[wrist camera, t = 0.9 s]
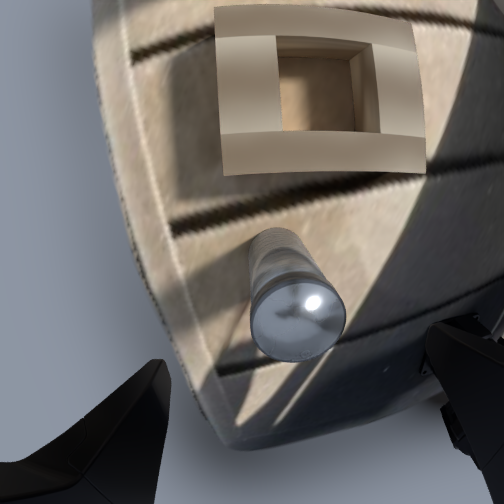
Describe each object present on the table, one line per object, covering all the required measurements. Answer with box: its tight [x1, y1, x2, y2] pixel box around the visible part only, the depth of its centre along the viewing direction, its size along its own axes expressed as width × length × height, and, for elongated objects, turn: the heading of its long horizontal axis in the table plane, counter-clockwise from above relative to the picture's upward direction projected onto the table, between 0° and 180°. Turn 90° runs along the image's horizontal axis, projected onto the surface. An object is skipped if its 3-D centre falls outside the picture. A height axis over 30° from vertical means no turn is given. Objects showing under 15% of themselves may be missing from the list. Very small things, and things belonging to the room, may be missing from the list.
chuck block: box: [214, 4, 426, 176], centre depth 16 cm, size 10×12×4 cm
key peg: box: [248, 228, 346, 363], centre depth 17 cm, size 4×4×9 cm
